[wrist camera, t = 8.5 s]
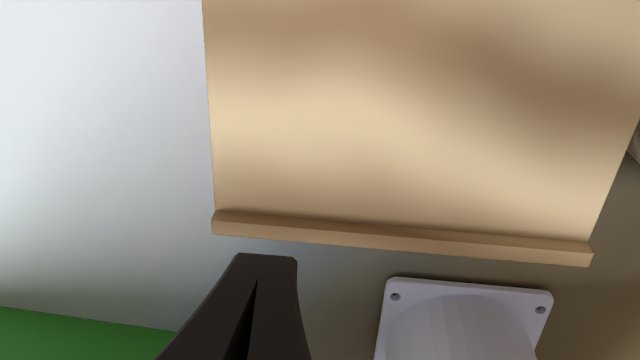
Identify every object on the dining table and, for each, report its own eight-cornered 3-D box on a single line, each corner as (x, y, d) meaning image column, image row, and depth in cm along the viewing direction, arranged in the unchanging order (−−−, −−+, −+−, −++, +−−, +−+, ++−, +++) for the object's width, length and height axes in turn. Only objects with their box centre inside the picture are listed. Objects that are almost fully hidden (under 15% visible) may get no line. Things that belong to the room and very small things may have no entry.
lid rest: (542, 189, 22) (587, 269, 18) (241, 164, 22) (212, 236, 18) (671, -190, 15) (796, -213, 11) (230, -216, 15) (177, -247, 11)
